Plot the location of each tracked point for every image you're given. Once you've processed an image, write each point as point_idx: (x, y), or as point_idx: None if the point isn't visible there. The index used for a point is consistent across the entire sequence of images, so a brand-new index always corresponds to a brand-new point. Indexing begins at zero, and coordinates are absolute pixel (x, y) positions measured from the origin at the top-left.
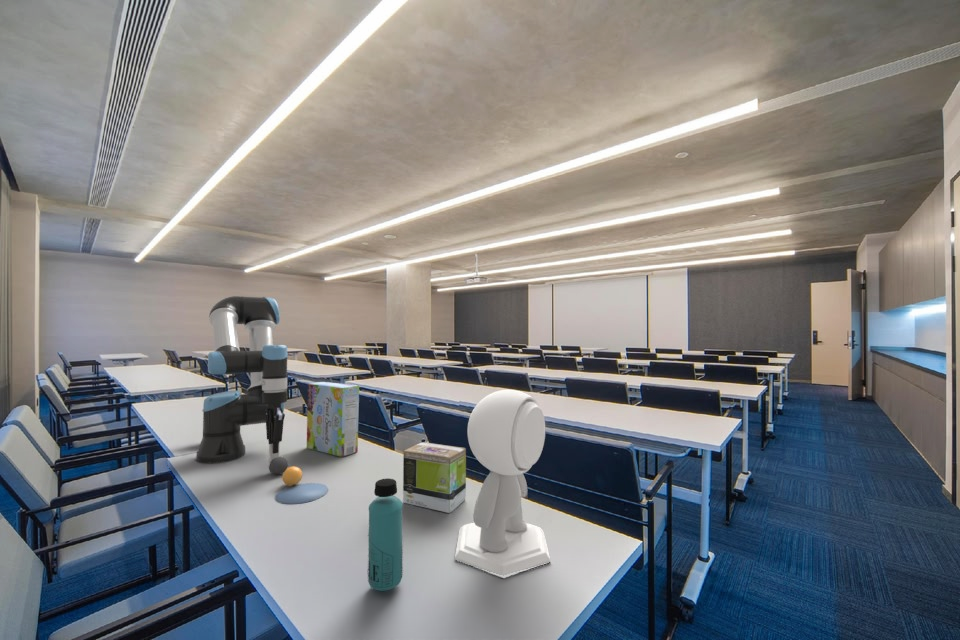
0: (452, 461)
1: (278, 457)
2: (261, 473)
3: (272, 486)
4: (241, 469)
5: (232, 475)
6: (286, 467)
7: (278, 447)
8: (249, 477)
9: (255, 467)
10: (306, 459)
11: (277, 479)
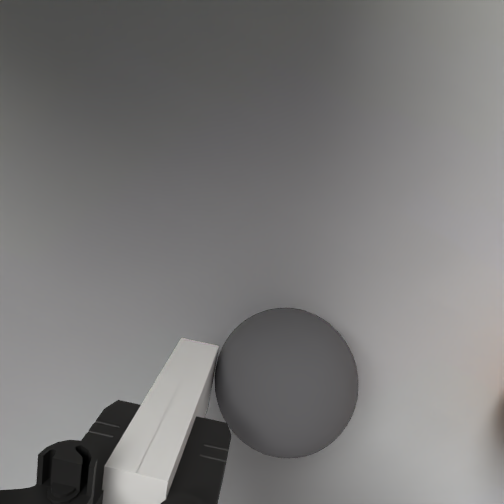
0: None
1: (290, 429)
2: None
3: (450, 462)
4: (4, 431)
5: None
6: (345, 342)
7: (185, 437)
8: None
9: (28, 367)
10: (132, 22)
11: (369, 393)
